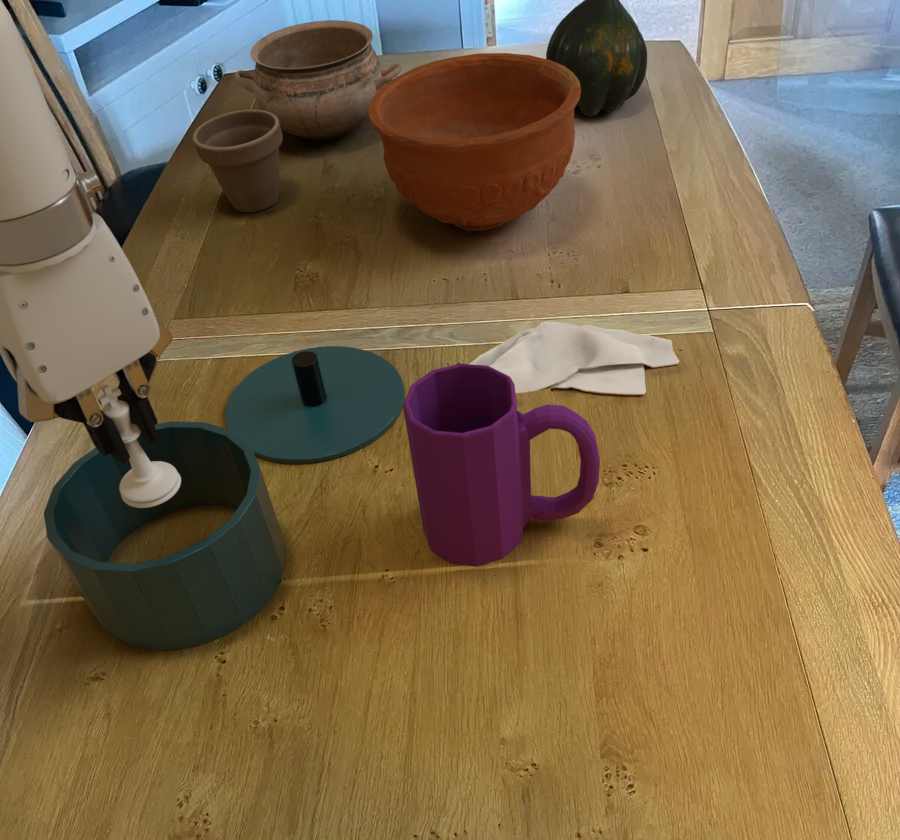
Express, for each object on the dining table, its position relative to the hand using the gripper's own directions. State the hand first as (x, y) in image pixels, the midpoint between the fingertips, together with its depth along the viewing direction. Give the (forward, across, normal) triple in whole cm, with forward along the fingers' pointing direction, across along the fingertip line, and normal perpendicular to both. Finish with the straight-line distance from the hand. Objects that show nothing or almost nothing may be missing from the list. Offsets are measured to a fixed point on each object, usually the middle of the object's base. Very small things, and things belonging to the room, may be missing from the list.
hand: (131, 444), depth 73 cm
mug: (+15, -22, +19) cm, 33 cm away
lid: (+14, -23, -8) cm, 28 cm away
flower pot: (+15, -47, -50) cm, 71 cm away
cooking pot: (+15, -68, -58) cm, 91 cm away
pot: (+15, 0, 0) cm, 15 cm away
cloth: (+15, -43, +6) cm, 46 cm away
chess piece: (+5, 0, 0) cm, 5 cm away
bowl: (+15, -62, -21) cm, 67 cm away
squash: (+15, -96, -30) cm, 102 cm away
